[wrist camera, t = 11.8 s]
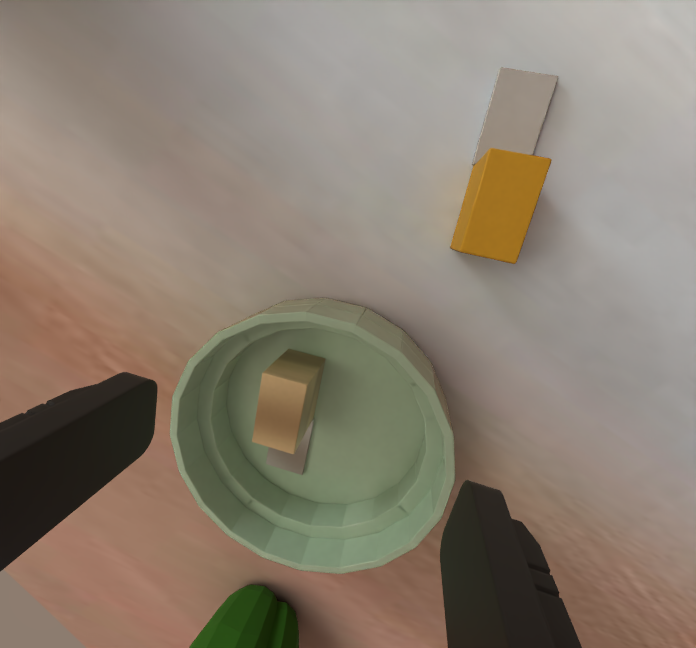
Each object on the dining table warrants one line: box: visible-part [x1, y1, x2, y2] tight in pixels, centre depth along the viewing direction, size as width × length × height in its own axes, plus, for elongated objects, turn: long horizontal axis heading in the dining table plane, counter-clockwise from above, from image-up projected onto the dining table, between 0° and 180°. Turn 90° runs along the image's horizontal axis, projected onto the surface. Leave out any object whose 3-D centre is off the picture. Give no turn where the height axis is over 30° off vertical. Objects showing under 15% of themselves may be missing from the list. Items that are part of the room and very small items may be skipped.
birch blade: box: [252, 349, 326, 475], centre depth 22 cm, size 9×3×4 cm, turn 168°
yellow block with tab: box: [450, 67, 558, 264], centre depth 17 cm, size 9×3×4 cm, turn 168°
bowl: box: [170, 298, 455, 574], centre depth 22 cm, size 17×17×5 cm
